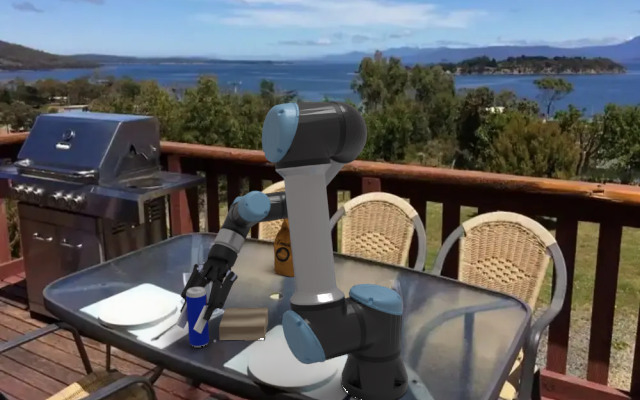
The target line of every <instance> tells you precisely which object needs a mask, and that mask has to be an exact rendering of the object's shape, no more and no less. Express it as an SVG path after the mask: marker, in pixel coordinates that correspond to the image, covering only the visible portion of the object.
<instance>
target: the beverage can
mask: <svg viewBox="0 0 640 400" xmlns="http://www.w3.org/2000/svg"><path fill="white" fill-rule="evenodd" d="M205 288H206V287H205ZM205 288H203V287H192V288H189V289H188V290H187V292H186V302H187V316H188V321H187V325H188V326H187V331H188V340H189V341H188V343H189V344H190V346H191V345H192V347H193V346H194V347H193V348H202V347H201V346H203V347H206V346H207V345H208V344H209V343H210V329H209V321H207V322H206V324H205V326H204V328H203V331H202V333H198V332H197V331H195V330H194V326H195V324H196V322H197V320H198V318H199V316H200V314H201V311H202V309H203V307H204V305H205V306H207V307H208V305H206V303H208V299H207V298H208V297H207V293H208V292H207V290H206V289H205ZM205 345H206V346H205Z"/></svg>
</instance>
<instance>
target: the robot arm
mask: <svg viewBox="0 0 640 400" xmlns="http://www.w3.org/2000/svg"><path fill="white" fill-rule="evenodd" d="M261 130H262V131H261V145H262V146H261V147H262V152H263V153H264V157H265V159H266V160H267V161H268V162H270V163H273V164H274V166H275V172H276V173H277V174H279V176H281V177H282V178H283V183H284V191H282V190H281V191H275V192H268V193H264V192H262V191H259V190H252V191H250V192H248V193H246V194H245V195H243V196H237V197H236V198H235V199H234V200H233V202H232V204H231V205H230V207H229V211H228V212H227V215H226V216H225V218H224V222H223V223H222V226H221V228H220V229H219V231H218V232H217V235H216V237H215V239H214V241H213V244H212V245H211V248H210V249H209V251H208V253H207V260H206V261H205V262H204V263H203V264H198V263H195V264H194V265H193V267H192V268H193V269H192V272H191V273H190V276H189V278H188V280H187V282H186V284H185V286H184V288H183V290H182V292H181V294H180V297H181V298H182V299H183V300H184V302H183V304H182V307H181V308H180V310H179V313H180V315H179V316H178V318H177V321H176V323H175V325H176V326H178V327H179V328H180V329H183V330H184V329H185V327H186V325H187V324H188V316H187V302H186V292H187V290H188V289H189V288H192V287H203V288H206V287H207V286H208V285H210V284H211V282H212V284H211V287H210V288H211V289H210V293H209V296H208V300H207V303H206V305H207V306H205V305H204V307H203V309H202V311H201V314H200V316H199V318H198V320H197V322H196V324H195V326H194V330H195V331H197V332H198V333H202V331H203V328H204V326H205V324H206V322H207V321H208V322H209V321H210V320H211V317H212V316H213V314H214V311H216V310H218V309H219V310H222V309H223V308H224V305H225V303H226V301H227V299H228V296H229V294H230V292H231V290H232V287H233V285H234V283H235V282H236V281H237V279H238V275H237V274H236V273H235V272H234V271H232V268H234V266H235V263H236V261H237V259H238V256H239V254H240V253H241V250H242V249H243V246H244V244H245V242H246V239H247V237H248V235H249V232H250V231H251V229H252V227H254V226H255V225H256V224H258V223H264V222H265V223H267V222H272V221H273V222H274V221H279V220H283V219H287V218H288V221H289V230H290V239H291V249H292V258H293V267H294V276H295V277H294V282H295V283H294V284H295V292H294V293H293V294H292V295H291V297H290V298H289V303H290V304H289V305H290V309H288V310H286V311H285V312H284V313H283V314H282V317H281V318H282V319H281V327H282V333H283V336H284V339H285V342H286V344H287V346H288V348H289V351H290V352H291V354H292V356H294V358H295V359H296V360H297V361H298V362H299V363H301V364H304V365H312V364H316V363H324V362H325V361H329V360H332V359H335V358H340V357H342V356H343V357H344V356H345V355H347V358H346V361H345V363H344V365H343V369H342V370H341V371H342V372H341V386H342V385H343V387H344V388H345V389H346V391H348V393H349V394H348V395H349V396H350V395H351V396H350V397H352V396H353V397H356V398H358V399H362V400H398V399H400V398H401V397H403V396H404V395H405V394H406V392H407V390H408V387H409V377H408V376H409V375H408V373H407V369H406V366H405V363H404V360H403V356H402V331H403V330H402V326H403V325H402V323H403V322H402V321H403V320H402V319H403V314H404V310H403V300H402V297H401V295H400V294H399V293H398V292H397V291H396V290H394V289H392V288H390V287H387V286H384V285H379V284H378V285H377V284H371V283H359V284H354V285H353V286H352V287H350V288H349V291H348V297H345V296H346V295H345V292H344V291H342V290H341V289H340V288H339V287H338V286H337V280H336V271H335V270H336V269H335V259H334V252H333V251H334V250H333V241H332V231H331V223H330V222H331V221H330V212H329V204H328V203H329V202H328V194H327V186H328V185H329V184H330V183H331V181H332V180H333V179H334V178H335V177H336V175H338V173H339V172H340V171H341V170H342V169H343V168H344V166H345V165H348V164H351V163H352V162H354V161H355V160H356V159H357V157H358V156H360V154H361V152H362V151H363V150H364V148H365V147H366V143H367V138H368V127H367V124H366V121H365V119H364V117H363V116H362V114H361V113H360V112H359V111H358V110H357V109H356V108H355V107H354V106H353V105H351V104H349V103H347V102H343V101H338V100H333V101H332V100H331V101H305V102H300V101H299V102H289V103H281V104H276V105H274V106H273V107H271V108H270V110H269V111H268V112H267V114H266V116H265V119H264V121H263V126H262V129H261ZM343 387H342V388H343ZM353 397H352V398H353ZM356 398H355V399H356ZM358 399H357V400H358Z"/></svg>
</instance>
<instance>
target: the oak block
mask: <svg viewBox="0 0 640 400" xmlns="http://www.w3.org/2000/svg"><path fill="white" fill-rule="evenodd" d="M268 324H269V307H225V309H224V311H223V315H222V317H221V320H220V323H219V326H218V334H219V341H220V340H245V341H259V340H258V339H260V338H265V339H266V336H267V330H268ZM265 335H266V336H265Z"/></svg>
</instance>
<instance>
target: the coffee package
mask: <svg viewBox="0 0 640 400" xmlns="http://www.w3.org/2000/svg"><path fill="white" fill-rule="evenodd" d="M273 252H274V253H273V254H274V256H273V257H274V260H273V261H274V268H273V270H274V272H275V274H276V275H281V276H286V277H291V278H295V276H294V267H293V258H292V249H291V239H290V230H289V221H288V218H287V219H282V223H281V225H280V229H279V230H278V231H277V234H276V235H275V238H274V242H273Z"/></svg>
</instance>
